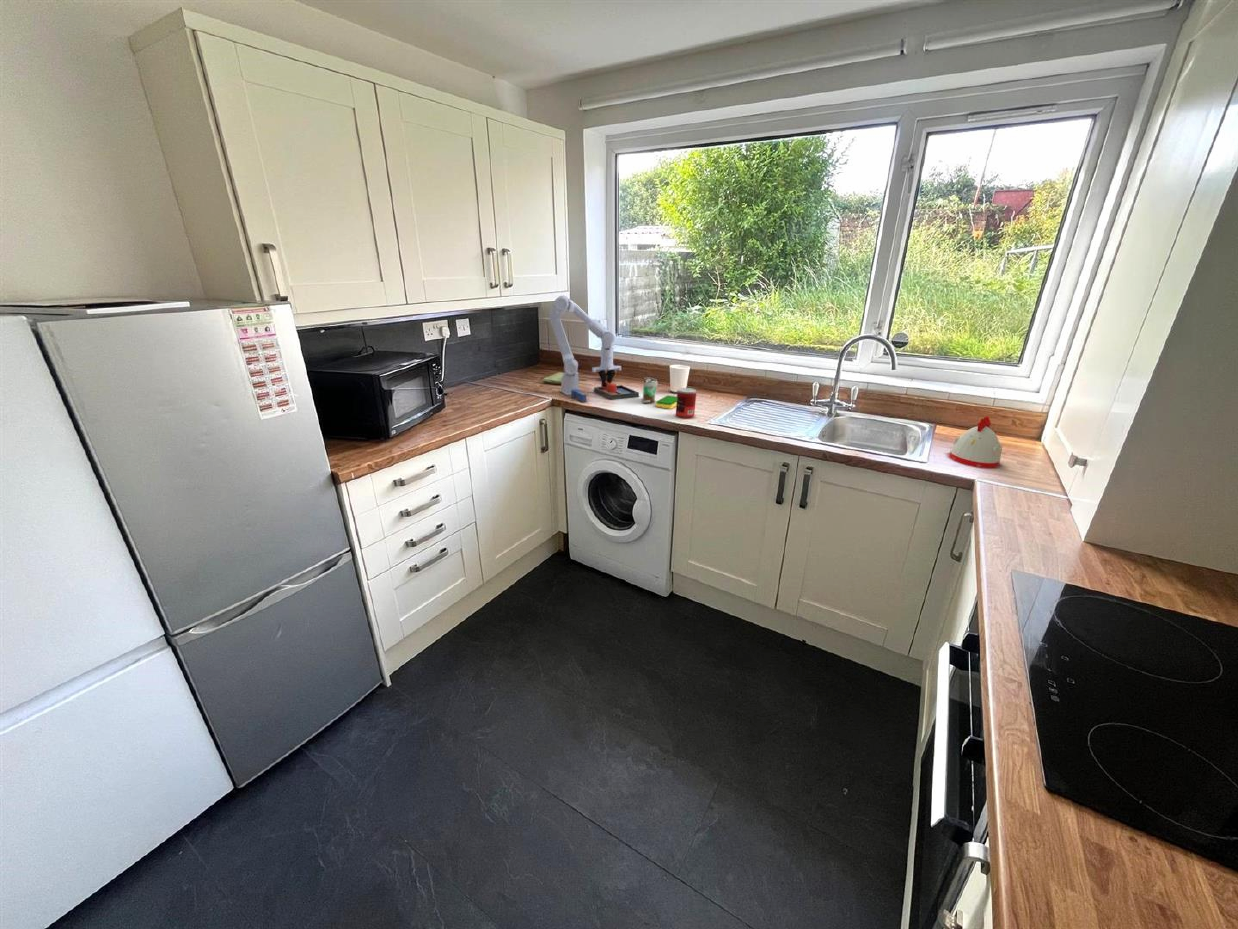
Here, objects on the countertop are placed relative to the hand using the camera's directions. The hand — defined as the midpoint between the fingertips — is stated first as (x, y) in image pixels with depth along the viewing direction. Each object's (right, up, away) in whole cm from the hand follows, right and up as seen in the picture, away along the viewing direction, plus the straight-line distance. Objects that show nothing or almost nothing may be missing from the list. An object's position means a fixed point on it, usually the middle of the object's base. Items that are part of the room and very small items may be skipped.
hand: (606, 386), depth 238 cm
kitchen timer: (+125, -36, -70) cm, 148 cm away
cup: (+35, -2, +9) cm, 37 cm away
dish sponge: (+28, -11, -14) cm, 33 cm away
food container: (+20, -9, -10) cm, 24 cm away
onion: (0, +8, +31) cm, 32 cm away
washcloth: (-24, +6, +23) cm, 34 cm away
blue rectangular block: (-12, -7, -10) cm, 18 cm away
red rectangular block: (+1, -2, -2) cm, 3 cm away
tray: (+5, -4, +1) cm, 6 cm away
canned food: (+33, -17, -31) cm, 49 cm away
